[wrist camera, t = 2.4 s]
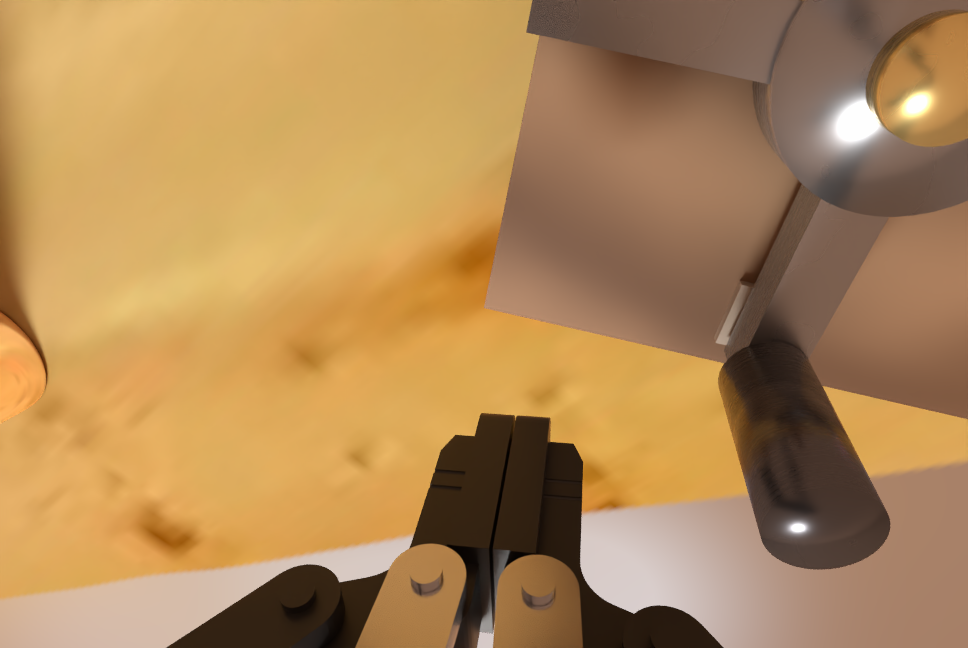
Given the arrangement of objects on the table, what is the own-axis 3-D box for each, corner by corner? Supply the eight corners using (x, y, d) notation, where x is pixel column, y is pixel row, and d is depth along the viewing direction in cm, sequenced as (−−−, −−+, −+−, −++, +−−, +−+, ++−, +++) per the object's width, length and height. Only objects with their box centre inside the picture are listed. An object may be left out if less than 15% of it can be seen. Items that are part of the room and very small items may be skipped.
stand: (650, -565, 12) (661, -667, 10) (1572, -401, 11) (1783, -475, 9) (483, 276, 21) (473, 310, 19) (969, 387, 21) (1008, 433, 19)
